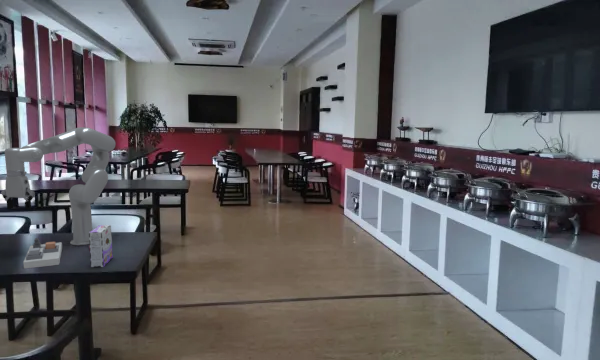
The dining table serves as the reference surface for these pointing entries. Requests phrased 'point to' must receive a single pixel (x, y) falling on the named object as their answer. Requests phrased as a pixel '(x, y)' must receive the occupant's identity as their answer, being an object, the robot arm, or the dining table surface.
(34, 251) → the grey button
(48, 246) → the terracotta button
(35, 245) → the dark slider
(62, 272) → the dining table surface
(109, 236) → the candy box
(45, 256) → the panel
